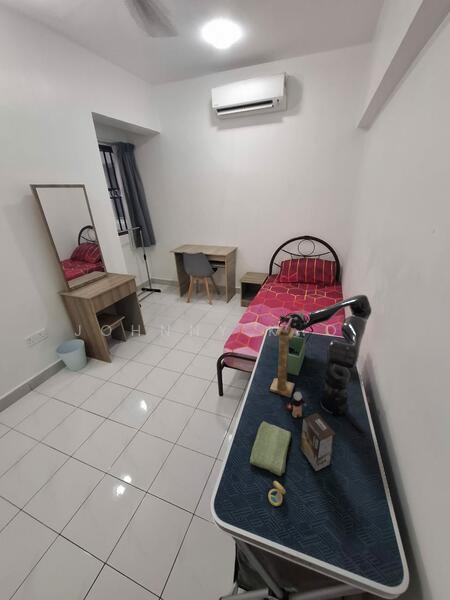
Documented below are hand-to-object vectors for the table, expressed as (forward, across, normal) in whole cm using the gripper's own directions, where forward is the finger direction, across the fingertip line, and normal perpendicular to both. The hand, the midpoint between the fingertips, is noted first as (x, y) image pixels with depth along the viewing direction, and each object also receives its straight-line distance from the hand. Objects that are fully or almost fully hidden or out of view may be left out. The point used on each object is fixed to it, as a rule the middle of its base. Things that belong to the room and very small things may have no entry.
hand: (289, 320), depth 107 cm
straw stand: (-13, 0, +33) cm, 35 cm away
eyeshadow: (+27, +10, +56) cm, 64 cm away
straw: (+1, 0, +2) cm, 2 cm away
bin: (-30, 0, +23) cm, 38 cm away
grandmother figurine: (-2, +9, +40) cm, 41 cm away
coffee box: (+11, +19, +47) cm, 52 cm away
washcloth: (+15, +4, +49) cm, 52 cm away
